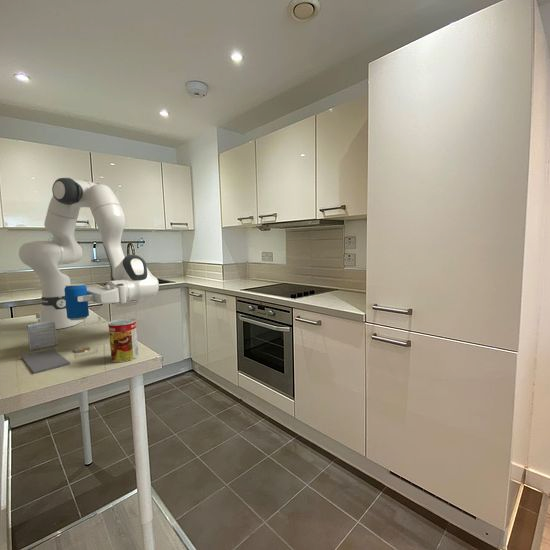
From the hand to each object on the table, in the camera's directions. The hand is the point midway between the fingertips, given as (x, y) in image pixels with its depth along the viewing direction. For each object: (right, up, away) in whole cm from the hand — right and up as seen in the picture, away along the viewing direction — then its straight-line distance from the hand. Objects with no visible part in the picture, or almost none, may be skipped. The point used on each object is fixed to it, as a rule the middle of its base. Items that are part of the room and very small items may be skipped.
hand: (73, 297), depth 106 cm
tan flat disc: (+1, -19, +3) cm, 19 cm away
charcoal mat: (-5, -20, -7) cm, 21 cm away
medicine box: (-16, -19, +8) cm, 26 cm away
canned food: (+21, -19, -6) cm, 29 cm away
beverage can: (+1, -8, +1) cm, 8 cm away
